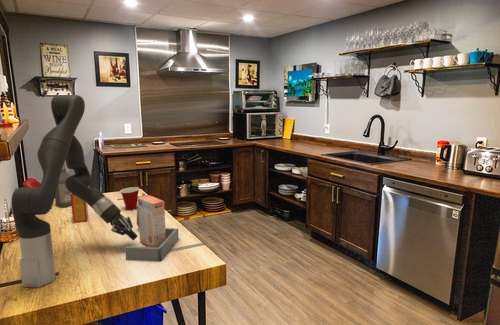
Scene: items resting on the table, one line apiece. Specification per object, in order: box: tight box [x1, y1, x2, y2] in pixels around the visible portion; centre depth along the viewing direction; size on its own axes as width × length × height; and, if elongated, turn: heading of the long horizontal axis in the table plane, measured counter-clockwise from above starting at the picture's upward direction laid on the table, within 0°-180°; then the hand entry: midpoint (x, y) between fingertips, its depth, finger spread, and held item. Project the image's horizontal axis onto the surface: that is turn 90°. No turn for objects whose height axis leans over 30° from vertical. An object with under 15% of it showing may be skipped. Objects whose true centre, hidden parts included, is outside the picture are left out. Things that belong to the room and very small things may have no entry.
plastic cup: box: [119, 186, 140, 211], centre depth 200 cm, size 11×11×12 cm
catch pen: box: [124, 227, 179, 262], centre depth 145 cm, size 22×14×5 cm, turn 174°
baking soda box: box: [71, 193, 89, 224], centre depth 181 cm, size 10×6×16 cm
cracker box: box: [137, 194, 166, 248], centre depth 147 cm, size 14×6×21 cm, turn 42°
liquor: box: [54, 161, 72, 209], centre depth 206 cm, size 9×9×30 cm
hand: (135, 238), depth 145 cm, fingers closed
